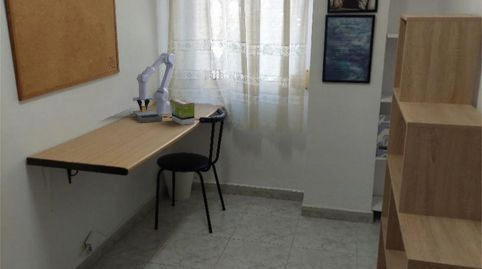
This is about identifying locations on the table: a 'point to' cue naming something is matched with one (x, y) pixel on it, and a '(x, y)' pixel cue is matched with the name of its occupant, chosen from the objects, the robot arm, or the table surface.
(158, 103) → the robot arm
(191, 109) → the tea box
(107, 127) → the table surface
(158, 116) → the carton
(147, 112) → the carton lid
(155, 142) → the table surface
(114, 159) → the table surface
